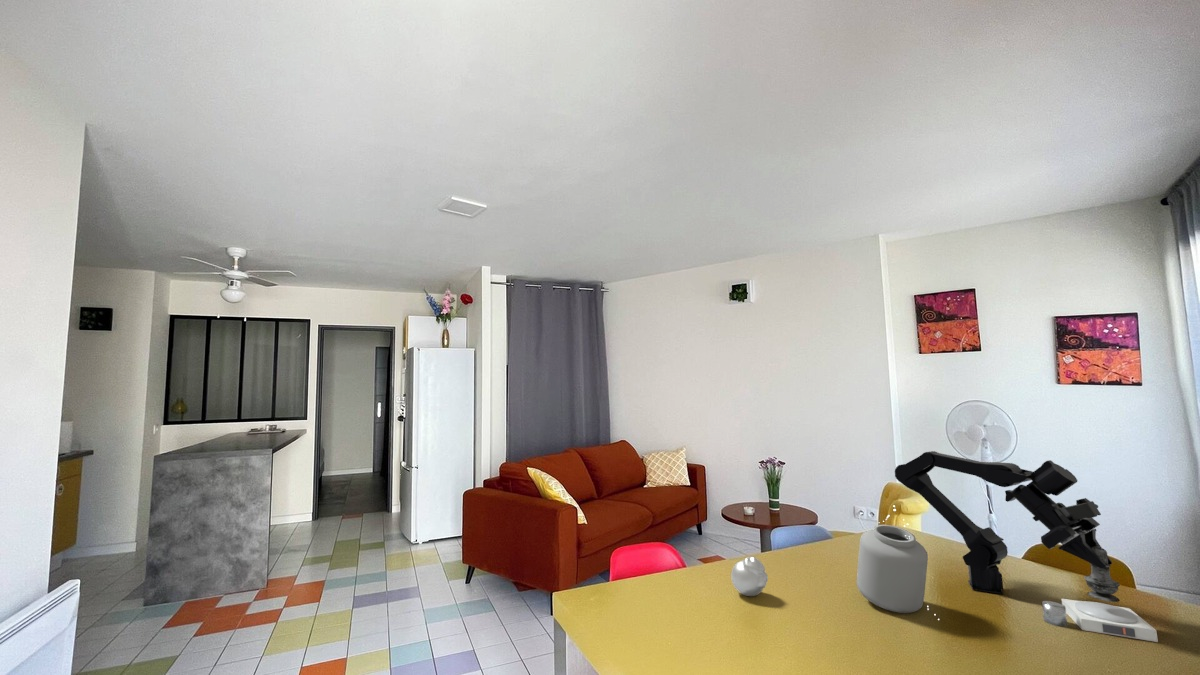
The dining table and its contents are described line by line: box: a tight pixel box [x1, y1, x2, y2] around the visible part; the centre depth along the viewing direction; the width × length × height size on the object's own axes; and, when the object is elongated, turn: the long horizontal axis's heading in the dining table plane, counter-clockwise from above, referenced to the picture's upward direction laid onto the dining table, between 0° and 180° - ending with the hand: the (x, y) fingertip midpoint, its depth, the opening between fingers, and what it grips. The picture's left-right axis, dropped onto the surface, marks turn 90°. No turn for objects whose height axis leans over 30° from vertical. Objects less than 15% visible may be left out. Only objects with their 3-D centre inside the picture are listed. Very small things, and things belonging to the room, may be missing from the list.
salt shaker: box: [1083, 542, 1121, 603], centre depth 113 cm, size 6×6×12 cm
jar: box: [856, 505, 940, 621], centre depth 123 cm, size 19×15×25 cm
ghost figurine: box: [730, 556, 769, 597], centre depth 130 cm, size 9×10×10 cm
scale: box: [1061, 598, 1159, 643], centre depth 112 cm, size 12×13×3 cm
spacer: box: [1041, 600, 1068, 628], centre depth 113 cm, size 4×4×4 cm
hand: (1107, 566), depth 112 cm, fingers closed on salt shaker, 4 cm apart
